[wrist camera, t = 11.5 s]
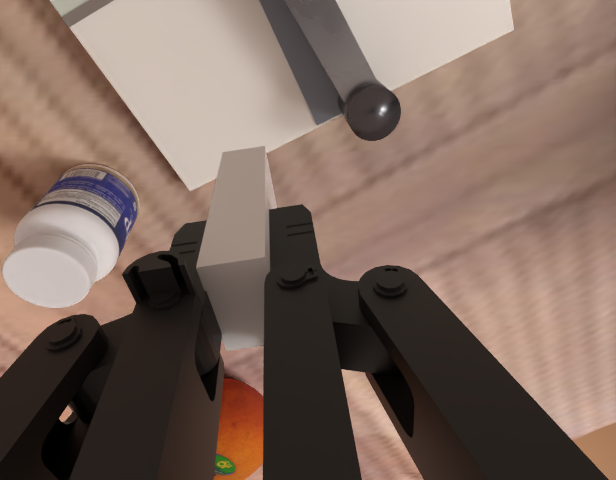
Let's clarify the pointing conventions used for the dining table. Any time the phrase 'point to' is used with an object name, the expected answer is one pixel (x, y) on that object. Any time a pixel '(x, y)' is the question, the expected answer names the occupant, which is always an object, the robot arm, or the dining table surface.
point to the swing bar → (347, 69)
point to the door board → (257, 64)
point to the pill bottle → (71, 236)
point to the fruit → (239, 432)
